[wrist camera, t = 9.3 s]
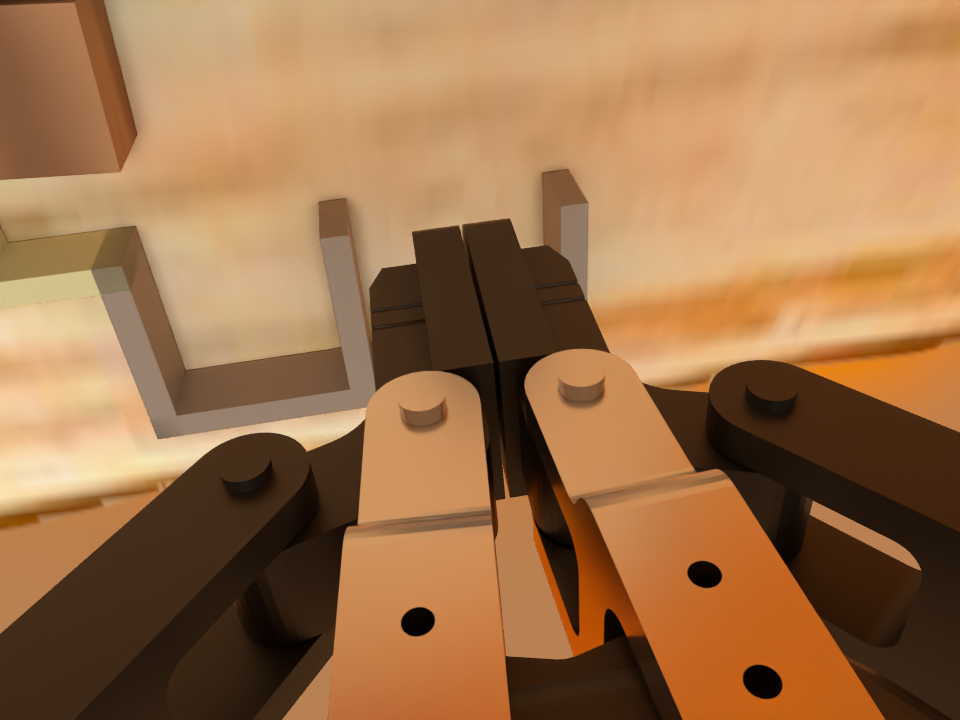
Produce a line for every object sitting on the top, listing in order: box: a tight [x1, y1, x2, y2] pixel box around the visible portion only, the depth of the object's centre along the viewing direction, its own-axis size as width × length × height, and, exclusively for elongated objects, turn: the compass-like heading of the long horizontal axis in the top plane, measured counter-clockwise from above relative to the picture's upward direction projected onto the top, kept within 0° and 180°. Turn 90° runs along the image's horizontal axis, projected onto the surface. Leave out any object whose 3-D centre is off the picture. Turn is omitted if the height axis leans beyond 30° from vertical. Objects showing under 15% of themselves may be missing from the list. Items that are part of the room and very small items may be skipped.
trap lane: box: [0, 170, 588, 439], centre depth 35 cm, size 28×21×4 cm
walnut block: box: [0, 0, 137, 180], centre depth 31 cm, size 6×6×4 cm
